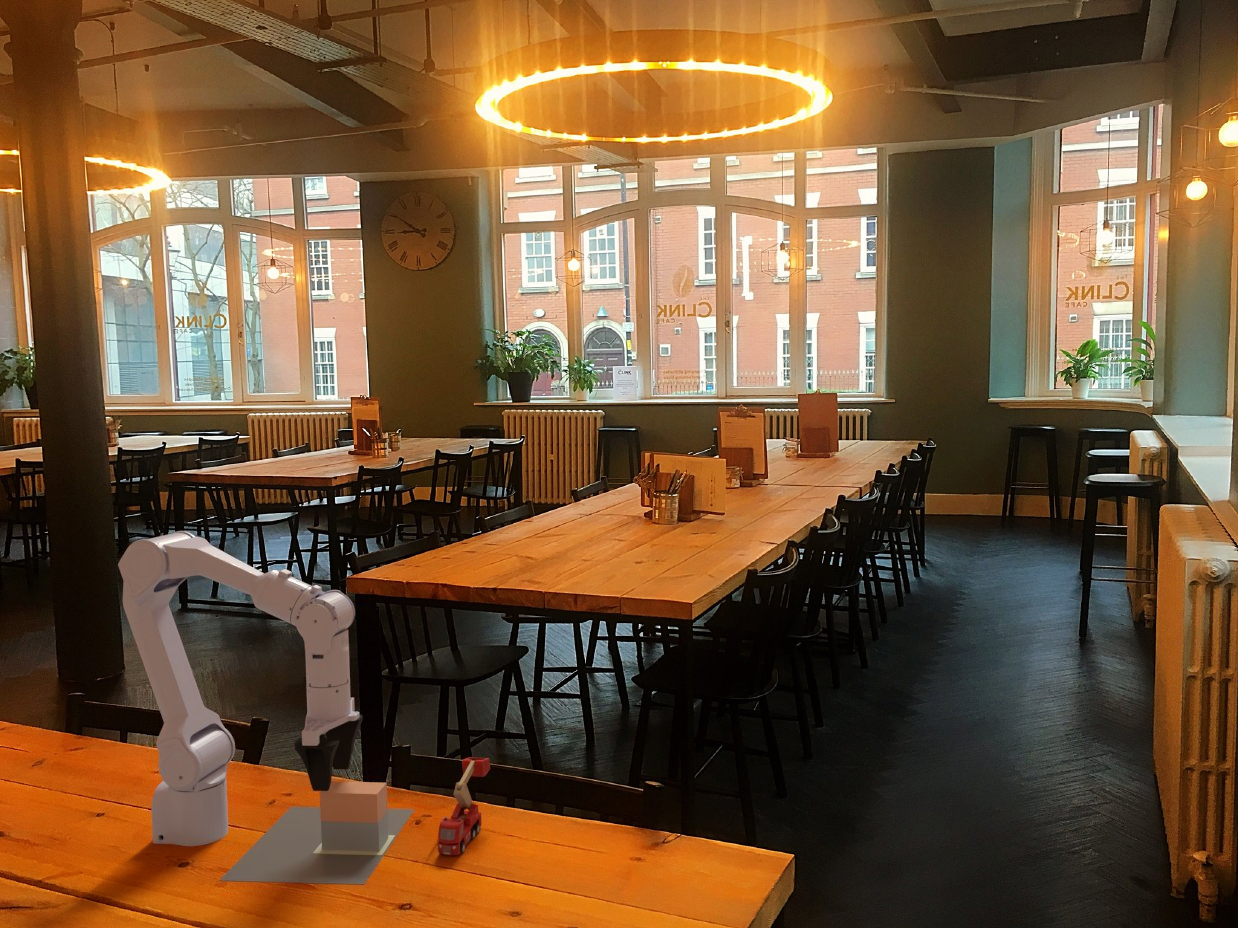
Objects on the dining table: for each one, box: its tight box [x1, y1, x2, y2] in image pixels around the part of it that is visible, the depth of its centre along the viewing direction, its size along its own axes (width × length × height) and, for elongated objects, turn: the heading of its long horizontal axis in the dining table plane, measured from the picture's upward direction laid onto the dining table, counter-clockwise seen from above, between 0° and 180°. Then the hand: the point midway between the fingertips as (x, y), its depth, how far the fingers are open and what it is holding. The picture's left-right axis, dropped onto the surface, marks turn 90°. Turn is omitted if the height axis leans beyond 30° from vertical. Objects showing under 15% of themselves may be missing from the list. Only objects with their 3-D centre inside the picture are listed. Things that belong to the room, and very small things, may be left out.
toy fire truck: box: [437, 756, 491, 856], centre depth 143 cm, size 3×14×10 cm, turn 168°
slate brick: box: [321, 811, 388, 851], centre depth 138 cm, size 8×4×4 cm, turn 85°
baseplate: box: [219, 806, 415, 886], centre depth 139 cm, size 19×23×1 cm
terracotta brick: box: [319, 780, 388, 823], centre depth 138 cm, size 8×4×4 cm, turn 85°
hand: (331, 779), depth 138 cm, fingers open, 7 cm apart
